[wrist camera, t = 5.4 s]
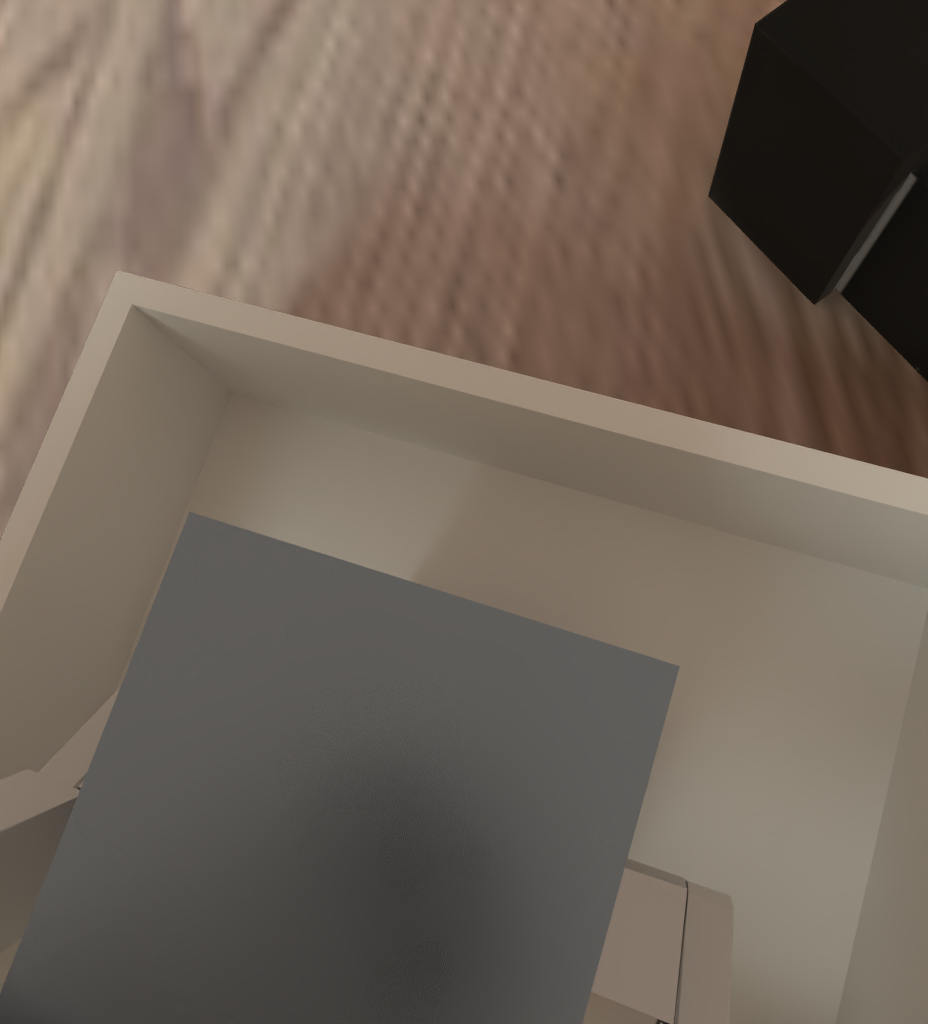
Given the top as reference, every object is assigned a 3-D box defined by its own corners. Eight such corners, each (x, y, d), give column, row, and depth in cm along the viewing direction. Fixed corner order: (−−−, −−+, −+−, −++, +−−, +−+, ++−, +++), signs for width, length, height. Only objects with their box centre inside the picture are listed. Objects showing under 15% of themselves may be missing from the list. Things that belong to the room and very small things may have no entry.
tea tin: (549, 940, 14) (517, 1288, 6) (306, 846, 15) (-21, 1030, 7) (622, 681, 15) (688, 663, 7) (389, 605, 16) (186, 505, 7)
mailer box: (960, 1618, 12) (1186, 2155, 7) (-188, 1039, 16) (-478, 1170, 11) (1133, 625, 14) (1378, 594, 10) (110, 342, 18) (-34, 231, 14)
